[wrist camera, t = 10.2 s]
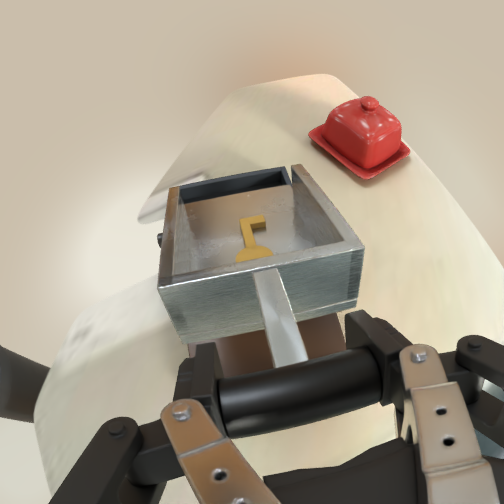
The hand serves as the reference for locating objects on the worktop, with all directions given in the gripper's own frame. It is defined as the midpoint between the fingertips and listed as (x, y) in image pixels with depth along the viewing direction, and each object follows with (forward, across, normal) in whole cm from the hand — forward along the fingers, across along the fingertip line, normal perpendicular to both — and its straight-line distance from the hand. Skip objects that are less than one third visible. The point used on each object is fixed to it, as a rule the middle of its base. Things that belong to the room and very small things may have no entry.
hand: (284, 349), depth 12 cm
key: (+11, 0, -2) cm, 11 cm away
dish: (+8, 0, 0) cm, 8 cm away
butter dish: (+31, -19, -9) cm, 37 cm away
